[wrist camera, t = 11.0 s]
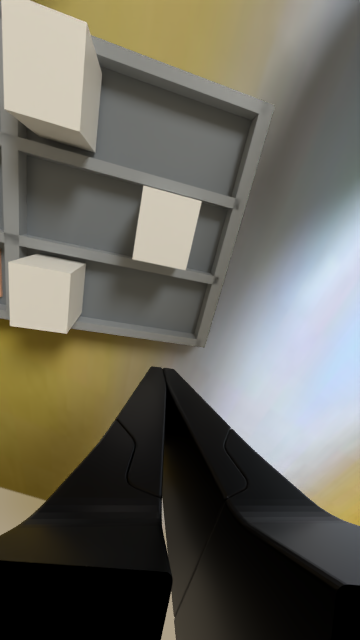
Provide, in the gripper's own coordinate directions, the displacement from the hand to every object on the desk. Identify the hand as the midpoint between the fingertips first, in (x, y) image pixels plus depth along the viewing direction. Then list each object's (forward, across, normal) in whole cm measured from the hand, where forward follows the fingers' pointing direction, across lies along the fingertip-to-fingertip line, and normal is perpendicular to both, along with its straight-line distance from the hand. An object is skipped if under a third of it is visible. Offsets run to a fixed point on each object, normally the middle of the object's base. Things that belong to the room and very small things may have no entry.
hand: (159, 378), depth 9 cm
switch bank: (+11, +4, -5) cm, 13 cm away
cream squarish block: (+10, +6, -10) cm, 15 cm away
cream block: (+10, +6, 0) cm, 11 cm away
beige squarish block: (+10, 0, -5) cm, 11 cm away
